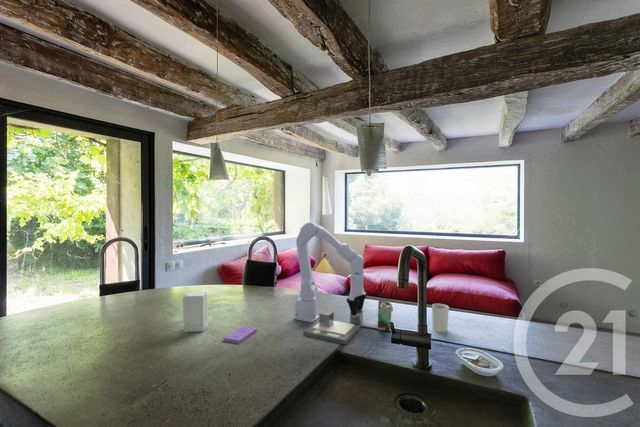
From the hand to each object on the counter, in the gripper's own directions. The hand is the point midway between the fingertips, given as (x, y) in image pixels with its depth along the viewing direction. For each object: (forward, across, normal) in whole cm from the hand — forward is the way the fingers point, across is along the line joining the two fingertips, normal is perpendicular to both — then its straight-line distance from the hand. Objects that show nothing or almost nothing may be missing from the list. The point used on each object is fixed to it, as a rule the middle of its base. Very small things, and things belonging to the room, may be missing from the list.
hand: (356, 312), depth 137 cm
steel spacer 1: (+2, -14, +8) cm, 16 cm away
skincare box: (+4, -39, +56) cm, 68 cm away
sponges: (+5, -35, +35) cm, 50 cm away
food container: (+5, 0, -13) cm, 14 cm away
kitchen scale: (+4, -15, +5) cm, 16 cm away
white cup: (+5, +9, -34) cm, 35 cm away
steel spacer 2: (+5, 0, 0) cm, 5 cm away
